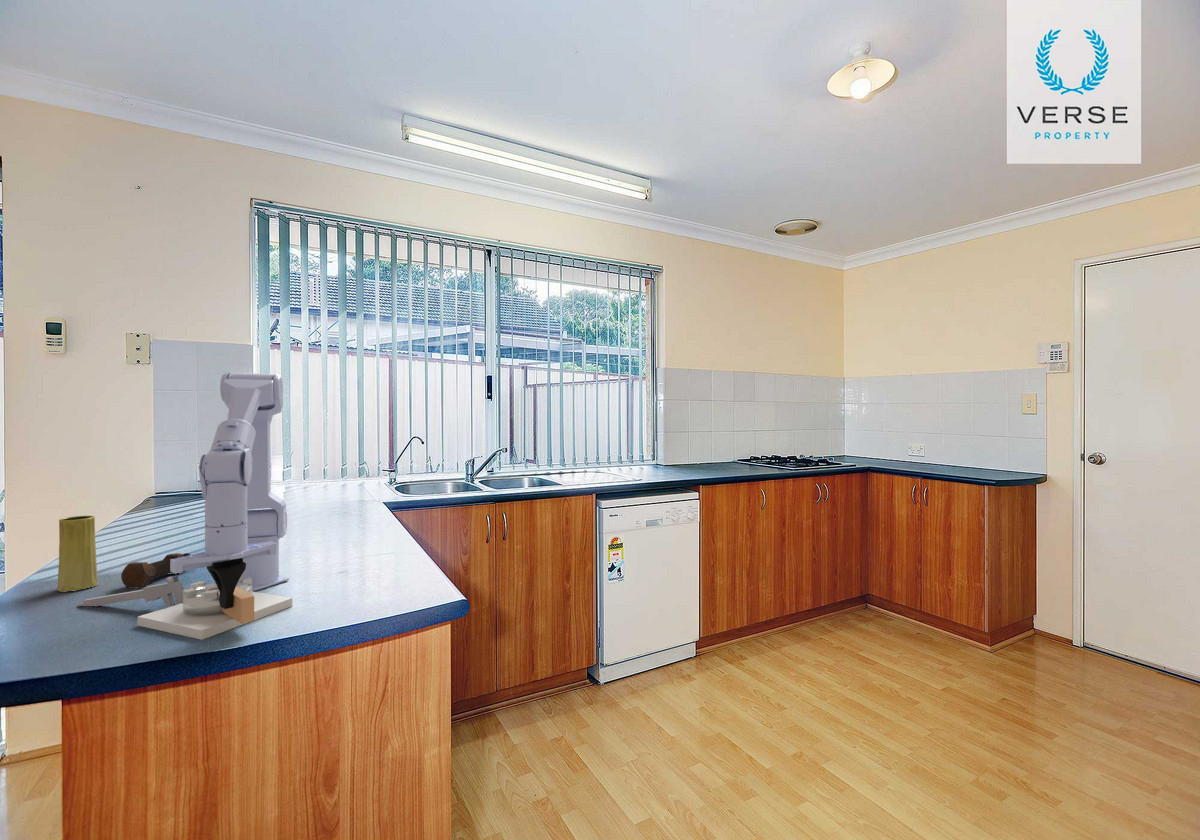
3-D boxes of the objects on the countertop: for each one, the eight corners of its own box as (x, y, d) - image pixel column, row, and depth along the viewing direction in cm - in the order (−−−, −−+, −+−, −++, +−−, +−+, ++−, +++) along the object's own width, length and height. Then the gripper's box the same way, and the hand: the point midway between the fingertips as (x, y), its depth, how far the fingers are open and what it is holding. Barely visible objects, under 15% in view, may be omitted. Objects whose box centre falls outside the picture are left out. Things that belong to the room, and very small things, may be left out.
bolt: (192, 575, 125) (136, 595, 110) (173, 564, 125) (115, 582, 110) (205, 553, 125) (151, 570, 110) (186, 542, 125) (130, 557, 110)
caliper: (185, 609, 99) (185, 575, 99) (180, 611, 98) (180, 577, 98) (82, 606, 101) (82, 572, 100) (76, 608, 99) (76, 573, 99)
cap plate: (137, 625, 91) (137, 615, 91) (232, 595, 106) (232, 586, 106) (201, 639, 85) (201, 629, 85) (292, 606, 100) (292, 596, 100)
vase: (49, 590, 108) (49, 519, 108) (88, 581, 114) (87, 514, 114) (66, 594, 106) (66, 521, 106) (104, 585, 112) (104, 516, 112)
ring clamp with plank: (175, 605, 94) (174, 582, 94) (240, 591, 102) (240, 569, 102) (211, 632, 83) (211, 606, 83) (281, 613, 91) (281, 589, 91)
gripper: (182, 535, 80) (182, 626, 80) (285, 519, 92) (285, 599, 92) (165, 529, 84) (165, 616, 84) (265, 515, 96) (266, 591, 96)
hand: (226, 606), depth 88 cm, fingers closed
